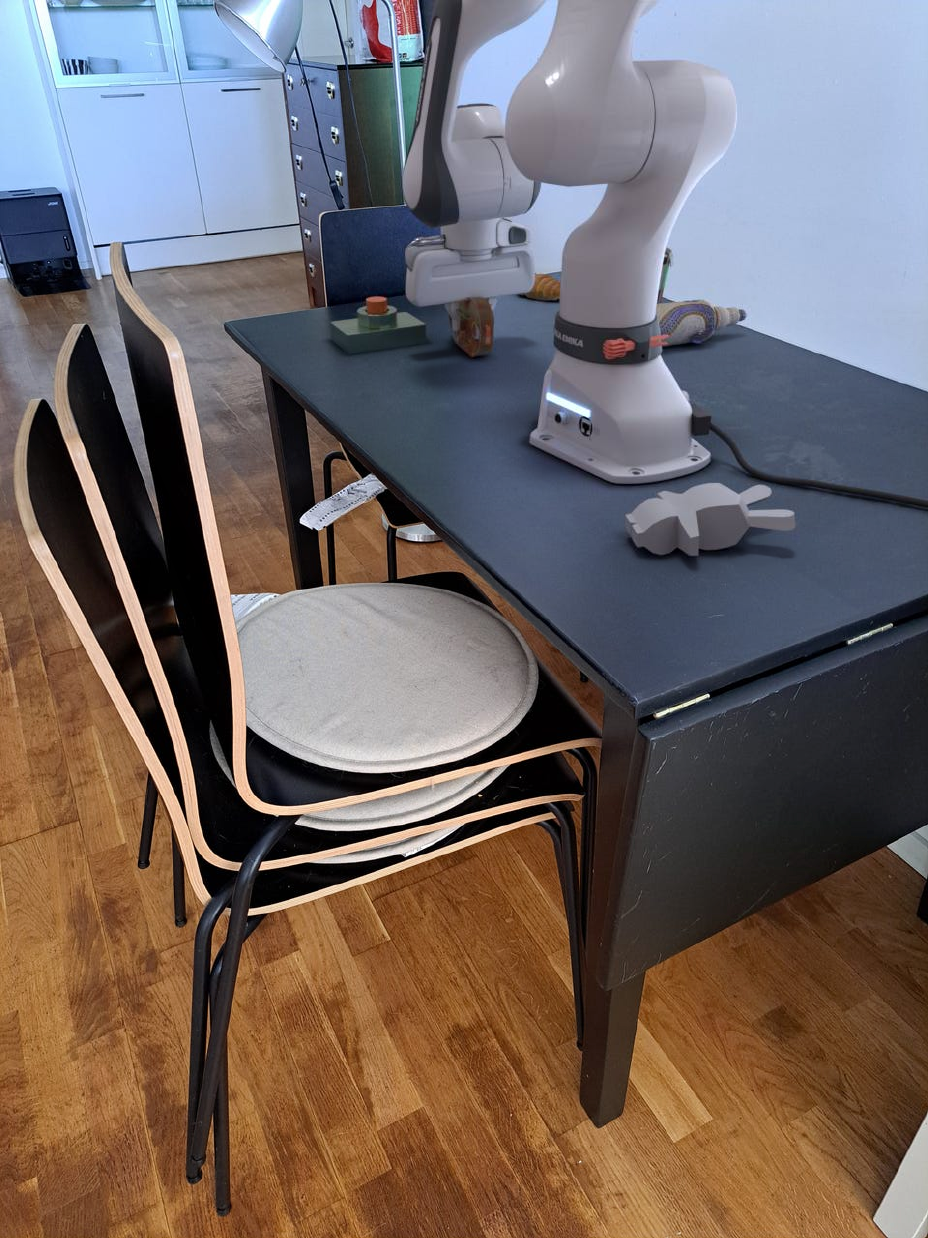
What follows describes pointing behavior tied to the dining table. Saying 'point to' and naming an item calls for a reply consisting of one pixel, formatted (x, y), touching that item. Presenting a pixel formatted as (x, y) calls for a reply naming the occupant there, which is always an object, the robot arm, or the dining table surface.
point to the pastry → (544, 288)
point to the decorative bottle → (694, 320)
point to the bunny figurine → (702, 518)
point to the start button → (376, 305)
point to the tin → (475, 327)
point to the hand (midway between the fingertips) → (471, 328)
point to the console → (377, 331)
